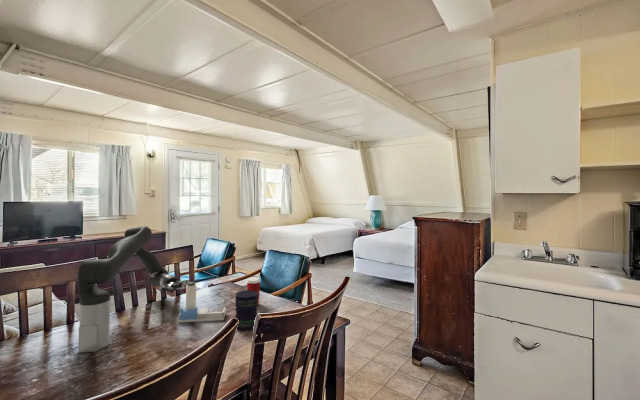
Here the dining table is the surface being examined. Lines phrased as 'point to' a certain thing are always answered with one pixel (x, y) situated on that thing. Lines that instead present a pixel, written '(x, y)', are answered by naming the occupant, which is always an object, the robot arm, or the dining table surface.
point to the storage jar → (246, 309)
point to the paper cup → (254, 285)
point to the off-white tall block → (191, 296)
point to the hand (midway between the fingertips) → (181, 289)
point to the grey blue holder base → (200, 315)
